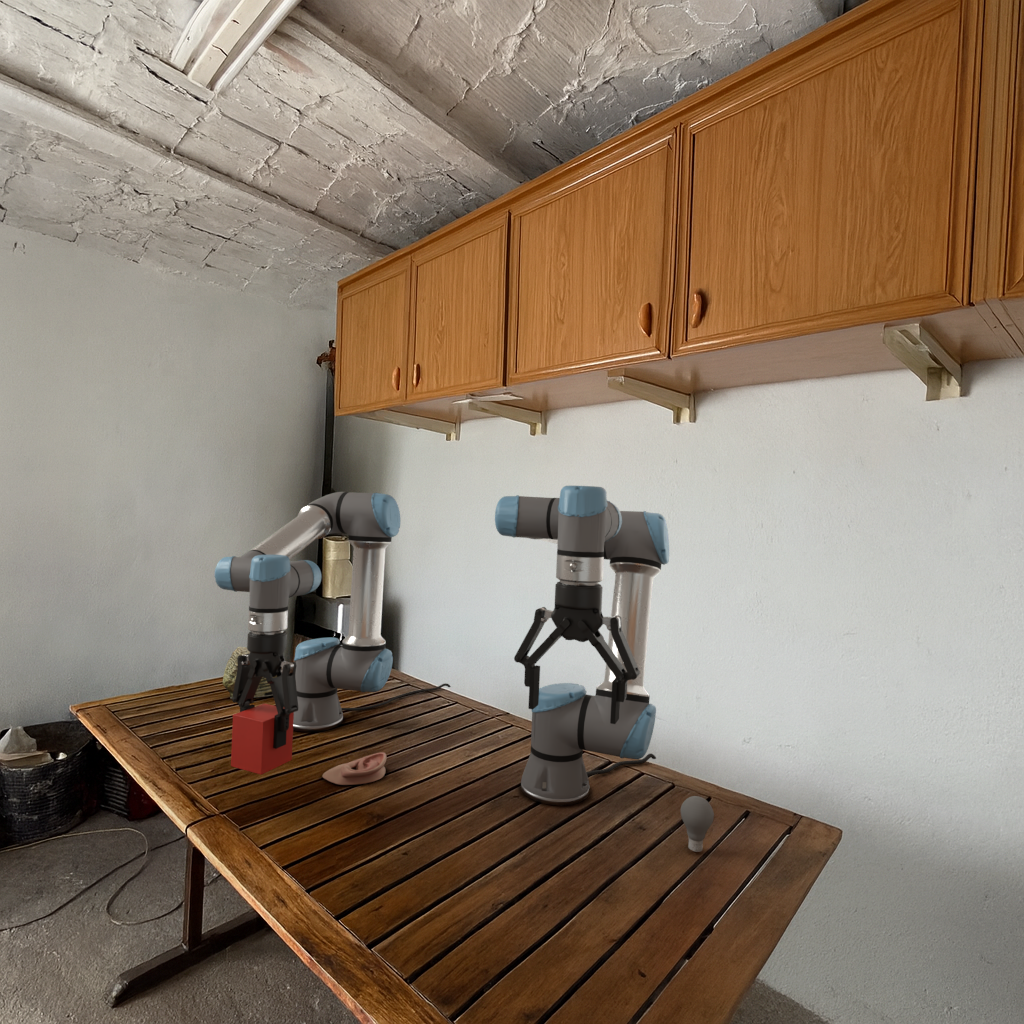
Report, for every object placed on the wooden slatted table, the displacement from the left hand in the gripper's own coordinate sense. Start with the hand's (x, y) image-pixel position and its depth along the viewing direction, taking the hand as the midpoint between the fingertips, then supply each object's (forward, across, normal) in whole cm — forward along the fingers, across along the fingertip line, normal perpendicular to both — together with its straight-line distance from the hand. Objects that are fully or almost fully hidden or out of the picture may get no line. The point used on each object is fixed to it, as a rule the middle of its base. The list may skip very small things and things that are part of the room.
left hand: (263, 741), depth 129 cm
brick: (+4, 0, 0) cm, 4 cm away
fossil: (+12, -54, +51) cm, 76 cm away
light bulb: (+13, +83, +25) cm, 88 cm away
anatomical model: (+13, +8, +20) cm, 25 cm away
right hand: (-18, +66, -1) cm, 68 cm away
